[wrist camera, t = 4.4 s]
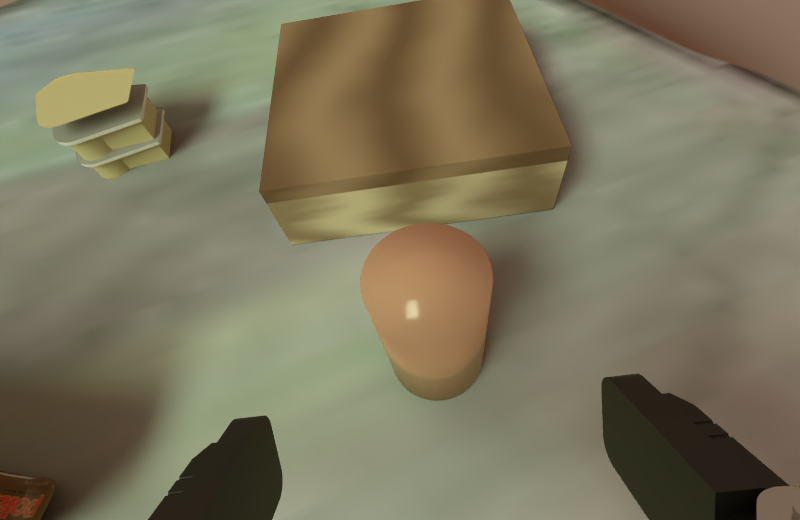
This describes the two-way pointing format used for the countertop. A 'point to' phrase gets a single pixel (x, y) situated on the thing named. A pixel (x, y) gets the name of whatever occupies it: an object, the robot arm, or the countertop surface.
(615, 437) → the robot arm
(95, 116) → the stacked layers on plate
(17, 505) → the tin
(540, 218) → the countertop surface
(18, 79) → the countertop surface
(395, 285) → the peach domed capsule
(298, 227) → the plinth
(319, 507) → the countertop surface
